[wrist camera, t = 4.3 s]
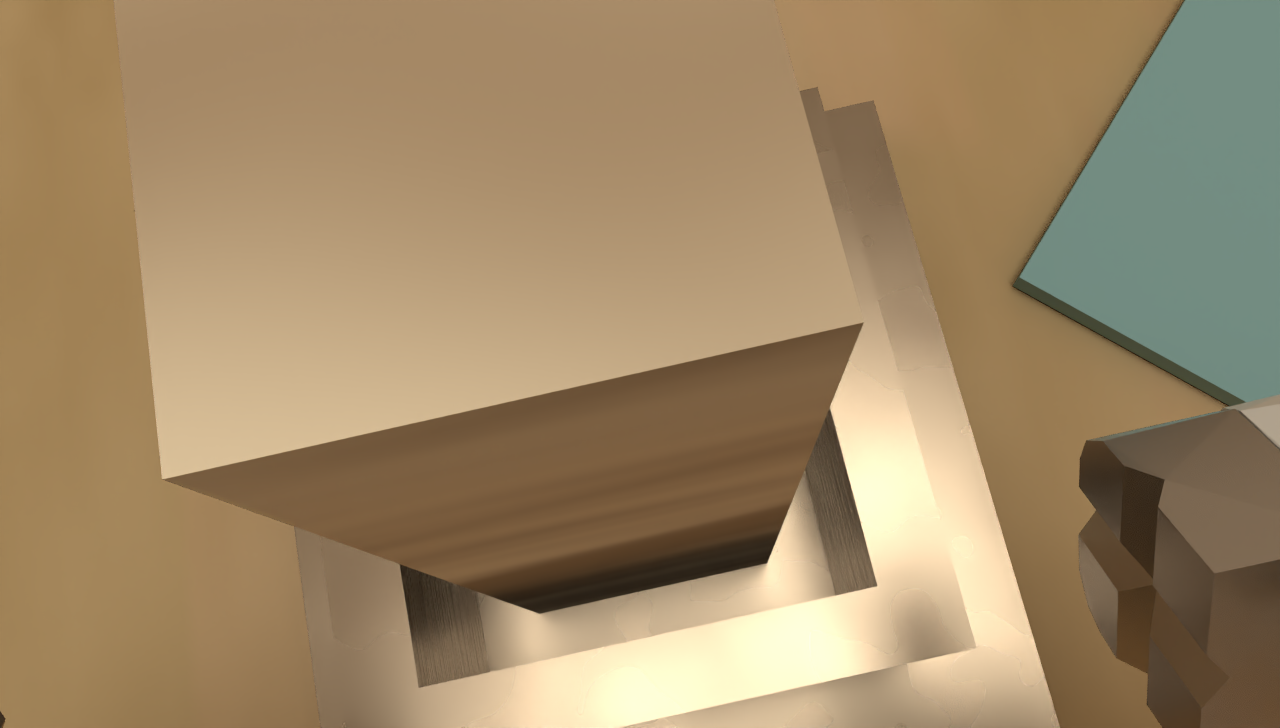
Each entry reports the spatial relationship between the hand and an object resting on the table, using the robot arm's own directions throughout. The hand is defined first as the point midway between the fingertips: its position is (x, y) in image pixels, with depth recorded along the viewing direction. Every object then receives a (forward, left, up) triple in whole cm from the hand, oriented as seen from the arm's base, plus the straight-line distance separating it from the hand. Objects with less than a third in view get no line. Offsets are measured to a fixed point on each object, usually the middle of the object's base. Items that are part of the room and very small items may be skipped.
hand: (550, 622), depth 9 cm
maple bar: (+2, -2, -11) cm, 12 cm away
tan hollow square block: (+2, -2, -12) cm, 13 cm away
